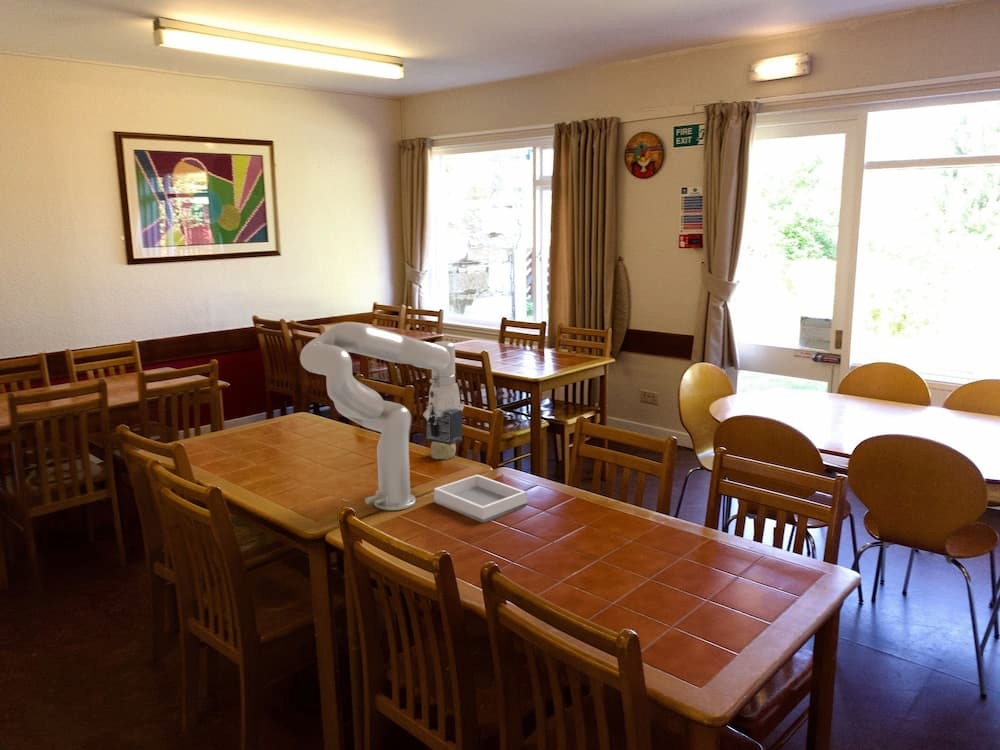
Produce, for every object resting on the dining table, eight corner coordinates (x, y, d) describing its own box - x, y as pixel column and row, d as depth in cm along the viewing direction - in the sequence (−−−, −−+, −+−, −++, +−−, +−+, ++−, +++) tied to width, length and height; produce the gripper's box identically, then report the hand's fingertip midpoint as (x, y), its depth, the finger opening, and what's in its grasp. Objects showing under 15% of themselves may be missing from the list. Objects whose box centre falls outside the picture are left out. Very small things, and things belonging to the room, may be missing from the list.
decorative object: (437, 470, 259) (450, 450, 255) (420, 451, 263) (433, 431, 259) (453, 465, 267) (466, 446, 263) (436, 447, 271) (448, 428, 267)
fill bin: (482, 522, 204) (482, 508, 203) (434, 502, 220) (433, 488, 219) (526, 505, 216) (526, 491, 215) (477, 487, 232) (477, 474, 231)
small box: (463, 440, 232) (463, 409, 230) (451, 445, 227) (451, 413, 225) (437, 435, 238) (437, 405, 236) (425, 440, 232) (424, 409, 230)
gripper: (429, 386, 220) (430, 441, 223) (471, 378, 232) (472, 431, 235) (414, 382, 225) (415, 436, 229) (456, 374, 237) (457, 426, 240)
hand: (444, 433), depth 232 cm, fingers closed on small box, 7 cm apart
